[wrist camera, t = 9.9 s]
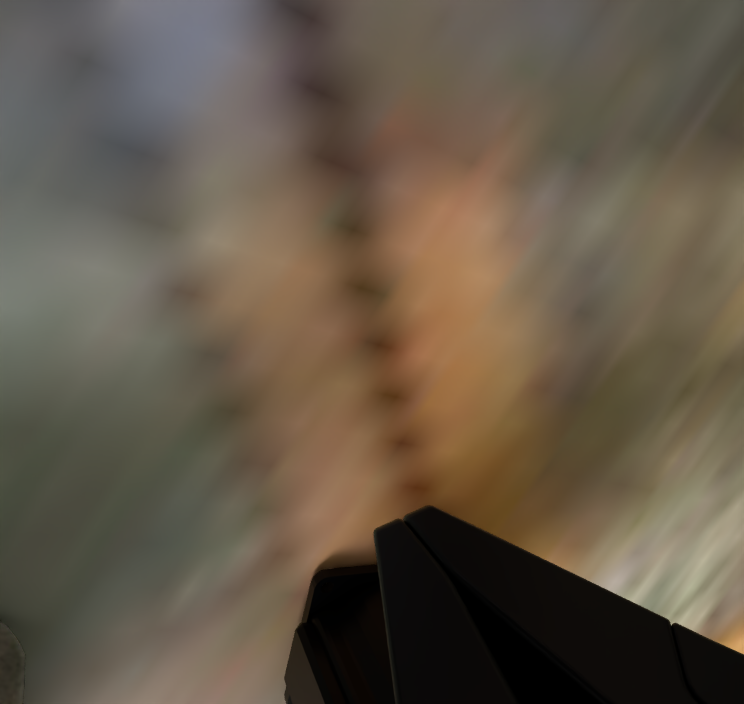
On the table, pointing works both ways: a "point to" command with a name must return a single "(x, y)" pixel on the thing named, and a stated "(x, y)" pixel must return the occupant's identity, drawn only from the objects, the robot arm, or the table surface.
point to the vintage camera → (11, 668)
